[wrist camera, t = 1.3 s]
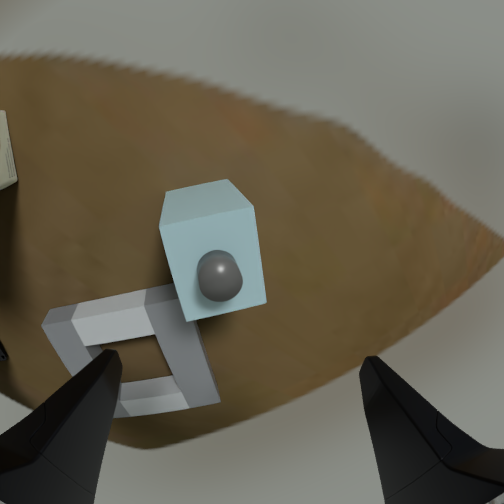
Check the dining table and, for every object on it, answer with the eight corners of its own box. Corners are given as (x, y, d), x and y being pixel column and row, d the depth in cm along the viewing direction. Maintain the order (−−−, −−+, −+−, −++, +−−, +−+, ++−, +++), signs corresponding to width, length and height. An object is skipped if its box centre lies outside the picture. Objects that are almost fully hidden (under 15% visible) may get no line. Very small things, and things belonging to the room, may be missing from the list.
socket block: (106, 401, 27) (104, 418, 25) (50, 309, 21) (41, 325, 19) (217, 384, 29) (220, 401, 27) (184, 280, 23) (185, 296, 21)
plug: (182, 260, 23) (187, 339, 14) (166, 191, 20) (156, 238, 12) (238, 247, 23) (274, 318, 15) (227, 178, 21) (261, 215, 12)
